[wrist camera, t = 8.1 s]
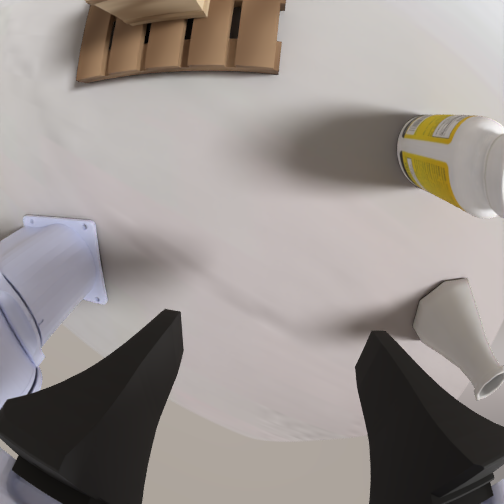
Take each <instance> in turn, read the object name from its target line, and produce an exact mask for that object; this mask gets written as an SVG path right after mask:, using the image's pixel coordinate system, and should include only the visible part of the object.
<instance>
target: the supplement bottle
mask: <svg viewBox="0 0 504 504" xmlns="http://www.w3.org/2000/svg"><path fill="white" fill-rule="evenodd" d="M397 156H398V161H399V164H400V167H401V169H402V171H403V173H404V175H405V176H406V177H407V179H408V180H409V181H410V182H411V183H413V184H414V185H416V186H417V187H419V188H421V189H423V190H425V191H427V192H429V193H431V194H433V195H435V196H437V197H439V198H441V199H443V200H445V201H447V202H449V203H451V204H453V205H454V206H456V207H458V208H460V209H462V210H463V211H465V212H467V213H469V214H471V215H473V216H475V217H478V218H484V219H488V218H493V217H496V216H500V217H502V218H504V127H503V126H502V125H501V124H500V123H498V122H497V121H495V120H493V119H491V118H488V117H483V116H470V115H421V116H417V117H414V118H412V119H411V120H410V121H408V122H407V123H406V124H405V125H404V127H403V128H402V130H401V132H400V135H399V138H398V143H397Z"/></svg>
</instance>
